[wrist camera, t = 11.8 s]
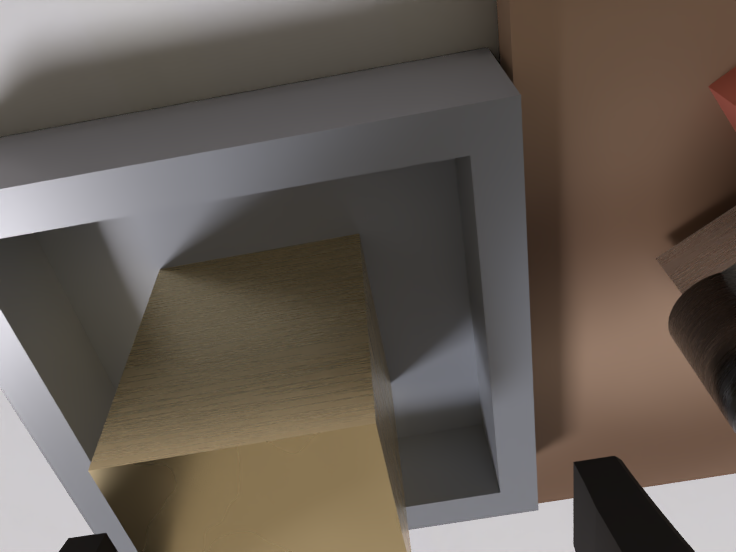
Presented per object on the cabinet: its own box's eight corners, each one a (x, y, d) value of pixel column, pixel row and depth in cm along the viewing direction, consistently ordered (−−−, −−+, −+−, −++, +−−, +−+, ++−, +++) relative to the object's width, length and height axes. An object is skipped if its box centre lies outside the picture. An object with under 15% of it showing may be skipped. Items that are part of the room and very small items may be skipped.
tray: (513, 429, 17) (538, 509, 15) (142, 488, 18) (119, 573, 16) (487, 47, 12) (521, 94, 10) (-45, 145, 12) (-115, 209, 10)
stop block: (390, 382, 16) (415, 589, 11) (219, 411, 16) (182, 624, 12) (359, 233, 13) (375, 423, 9) (159, 269, 14) (88, 471, 9)
